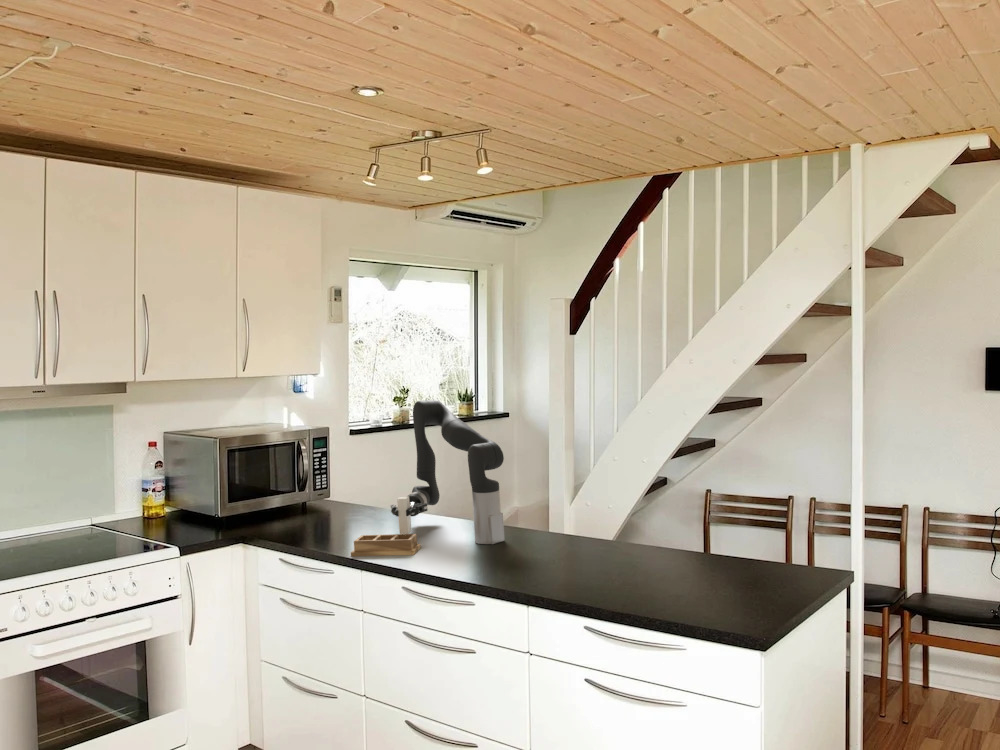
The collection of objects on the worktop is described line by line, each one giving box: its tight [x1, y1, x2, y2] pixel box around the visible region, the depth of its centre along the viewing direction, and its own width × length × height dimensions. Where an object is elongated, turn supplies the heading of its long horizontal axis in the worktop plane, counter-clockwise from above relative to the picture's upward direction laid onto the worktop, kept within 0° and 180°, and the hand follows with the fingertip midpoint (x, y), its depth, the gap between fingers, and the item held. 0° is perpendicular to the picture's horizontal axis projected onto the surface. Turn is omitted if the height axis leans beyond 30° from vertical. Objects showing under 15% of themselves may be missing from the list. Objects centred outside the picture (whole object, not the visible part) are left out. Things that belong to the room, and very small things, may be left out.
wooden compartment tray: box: [350, 533, 422, 557], centre depth 283 cm, size 10×21×5 cm, turn 81°
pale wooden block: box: [396, 495, 413, 534], centre depth 294 cm, size 4×3×12 cm, turn 171°
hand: (402, 513), depth 291 cm, fingers closed on pale wooden block, 3 cm apart
